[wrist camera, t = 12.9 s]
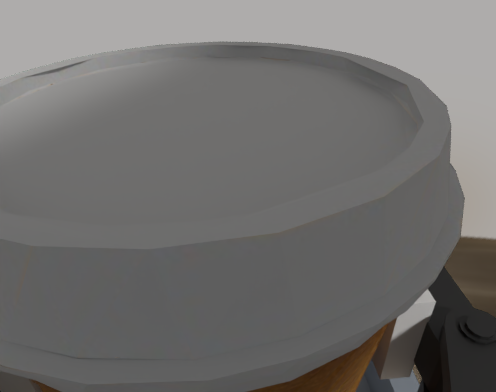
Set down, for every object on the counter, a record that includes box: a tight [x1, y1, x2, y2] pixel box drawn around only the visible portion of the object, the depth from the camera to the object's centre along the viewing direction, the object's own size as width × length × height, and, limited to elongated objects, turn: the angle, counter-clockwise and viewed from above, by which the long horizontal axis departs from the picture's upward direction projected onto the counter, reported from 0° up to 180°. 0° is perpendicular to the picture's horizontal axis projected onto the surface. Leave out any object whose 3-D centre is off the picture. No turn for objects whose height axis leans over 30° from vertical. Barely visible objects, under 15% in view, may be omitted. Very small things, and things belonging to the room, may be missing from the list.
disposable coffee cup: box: [0, 42, 465, 392], centre depth 10 cm, size 10×10×12 cm
